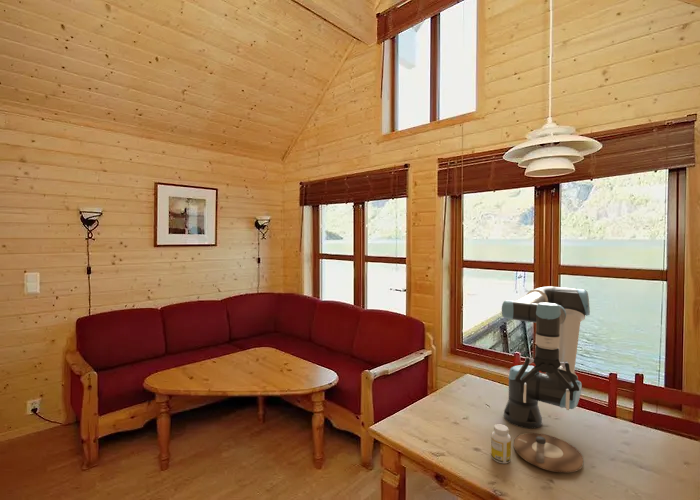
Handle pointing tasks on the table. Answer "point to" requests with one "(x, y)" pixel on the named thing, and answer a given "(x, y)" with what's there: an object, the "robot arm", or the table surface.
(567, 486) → the table surface
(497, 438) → the pill bottle
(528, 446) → the disc
